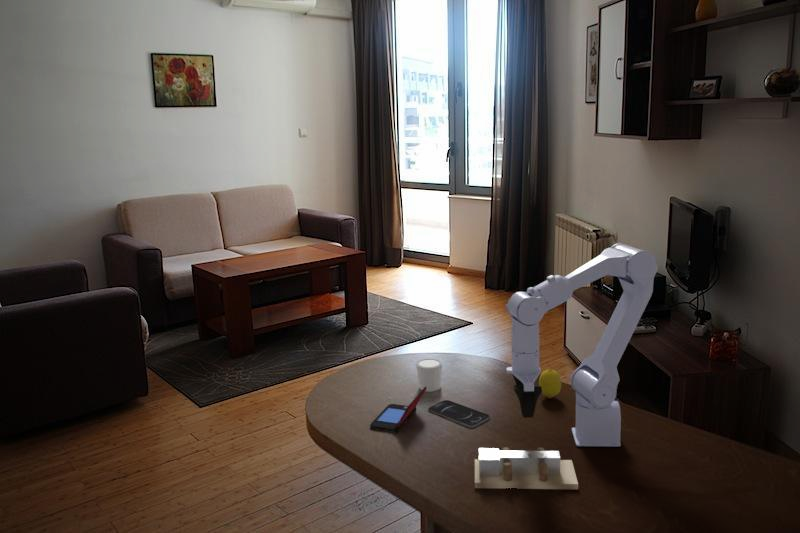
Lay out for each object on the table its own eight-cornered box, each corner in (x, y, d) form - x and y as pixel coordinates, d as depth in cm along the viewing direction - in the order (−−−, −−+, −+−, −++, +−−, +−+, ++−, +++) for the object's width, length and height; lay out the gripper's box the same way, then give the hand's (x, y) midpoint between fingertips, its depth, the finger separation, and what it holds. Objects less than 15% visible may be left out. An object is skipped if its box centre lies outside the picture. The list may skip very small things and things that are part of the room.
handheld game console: (389, 407, 172) (387, 380, 171) (429, 412, 168) (428, 385, 166) (368, 429, 161) (366, 400, 159) (410, 436, 157) (408, 406, 155)
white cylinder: (443, 392, 179) (442, 367, 177) (417, 393, 179) (416, 368, 177) (442, 381, 186) (441, 357, 184) (417, 382, 186) (416, 358, 184)
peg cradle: (571, 465, 141) (571, 446, 140) (578, 489, 132) (578, 469, 131) (474, 464, 143) (474, 445, 142) (474, 488, 134) (474, 468, 133)
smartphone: (446, 399, 174) (491, 415, 163) (446, 402, 174) (492, 419, 163) (425, 409, 169) (471, 426, 158) (426, 412, 169) (471, 430, 158)
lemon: (564, 395, 173) (564, 366, 171) (556, 404, 168) (556, 374, 166) (543, 391, 176) (543, 363, 174) (535, 400, 171) (535, 370, 169)
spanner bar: (558, 465, 139) (558, 448, 138) (560, 477, 134) (560, 460, 133) (479, 464, 140) (478, 448, 139) (479, 476, 136) (479, 459, 135)
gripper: (503, 337, 149) (505, 394, 153) (508, 362, 135) (509, 424, 139) (536, 336, 149) (536, 393, 152) (544, 361, 135) (544, 424, 138)
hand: (526, 408), depth 145 cm, fingers open, 7 cm apart
